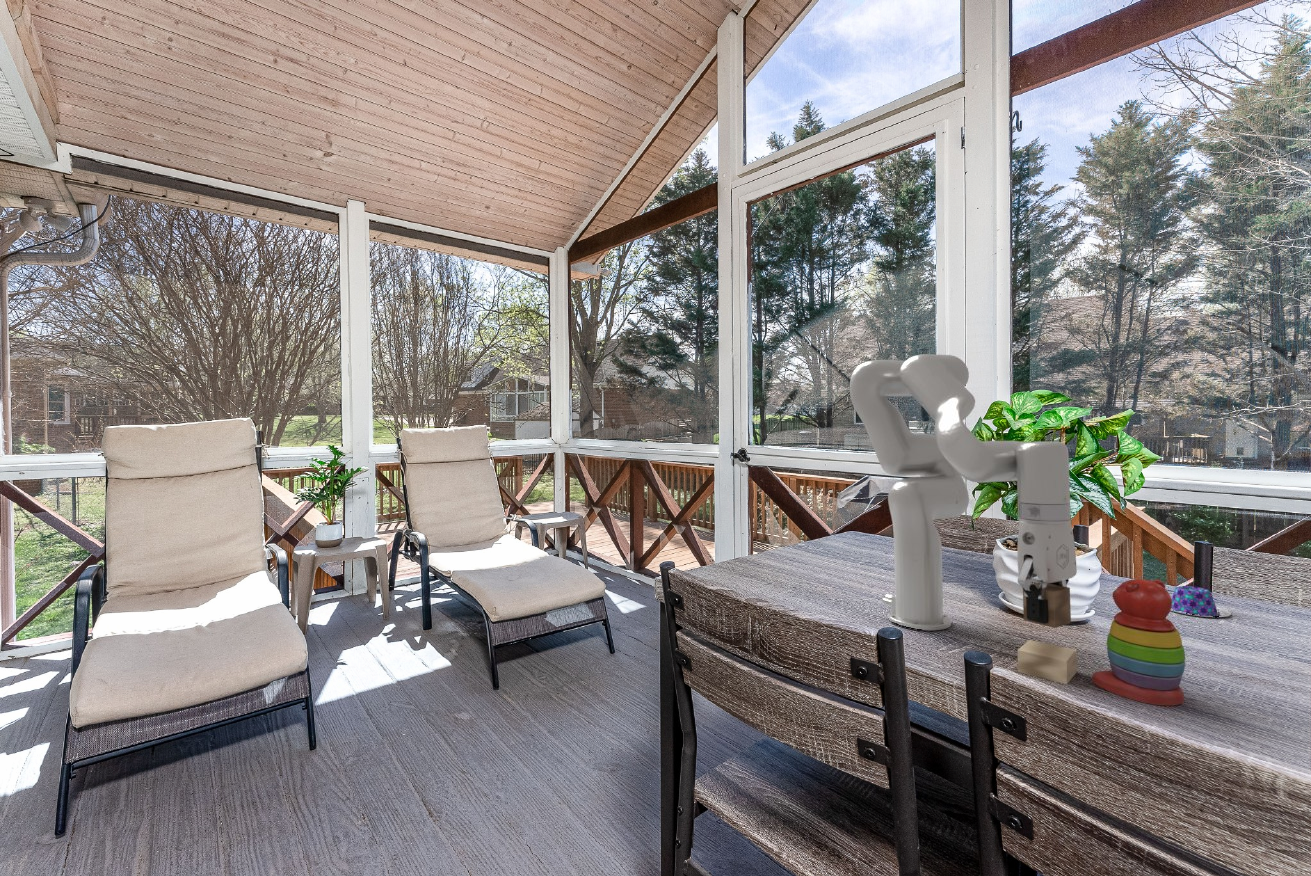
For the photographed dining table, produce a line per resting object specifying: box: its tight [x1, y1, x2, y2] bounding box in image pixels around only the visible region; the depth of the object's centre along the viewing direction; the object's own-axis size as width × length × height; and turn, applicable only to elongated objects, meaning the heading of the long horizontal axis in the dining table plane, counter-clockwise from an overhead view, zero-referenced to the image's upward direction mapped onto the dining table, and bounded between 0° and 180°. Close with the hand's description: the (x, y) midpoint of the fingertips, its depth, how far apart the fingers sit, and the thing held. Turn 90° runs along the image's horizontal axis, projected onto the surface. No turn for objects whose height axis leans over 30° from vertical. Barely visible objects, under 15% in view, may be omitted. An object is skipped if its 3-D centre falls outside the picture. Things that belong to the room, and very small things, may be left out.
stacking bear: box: [1091, 578, 1186, 707], centre depth 90 cm, size 11×10×18 cm
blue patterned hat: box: [1170, 585, 1232, 618], centre depth 130 cm, size 12×12×5 cm
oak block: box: [1017, 639, 1078, 685], centre depth 99 cm, size 7×7×4 cm
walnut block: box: [1022, 583, 1072, 629], centre depth 99 cm, size 5×5×6 cm
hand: (1046, 617), depth 99 cm, fingers closed on walnut block, 5 cm apart
